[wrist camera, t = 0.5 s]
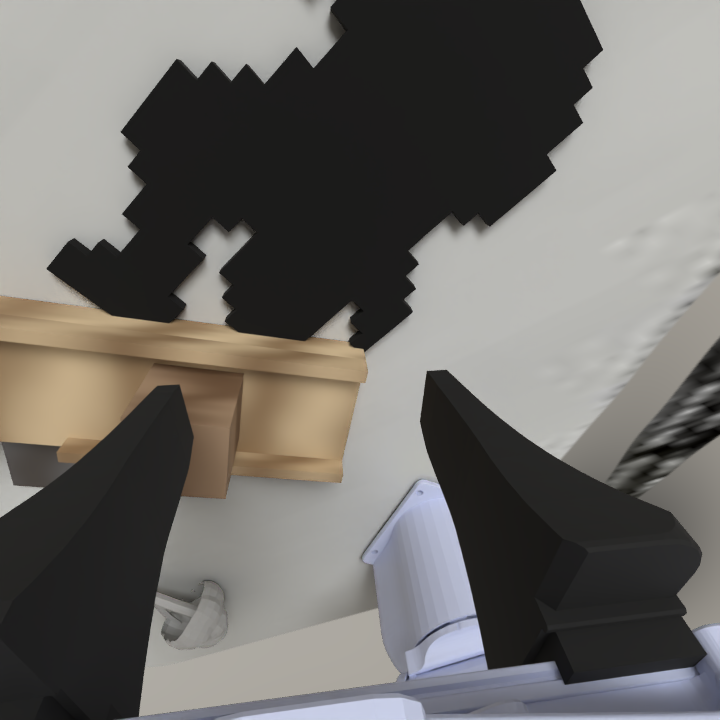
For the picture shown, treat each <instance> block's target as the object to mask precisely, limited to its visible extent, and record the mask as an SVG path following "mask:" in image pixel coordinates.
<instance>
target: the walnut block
mask: <svg viewBox="0 0 720 720" xmlns="http://www.w3.org/2000/svg"><path fill="white" fill-rule="evenodd" d="M243 380H244V373H237V372H228V371H219V370H211V369H202V368H193V367H184V366H176V365H167V364H158V363H154V364H153V366H152V367H151V369H150V370H149V372H148V374H147V375H146V377H145V379H144V380H143V382H142V383H141V385H140V387H139V388H138V390H137V392H136V393H135V395H134V396H133V398H132V400H131V401H130V403H129V405H128V406H127V408H126V409H125V411H124V413H123V414H122V416H121V418H120V421H122V420H123V419H125V418H126V417H127V416H128V415H129V414H130V412H131V411H132V410H133V409H134V408H135V407H136V406H137V405H138V404H139V403H140V402H141V401H142V400H143V399H144V398H145V397H146V396H147V395H148V394H149V393H150V392H151V391H152V390H153V389H154V388H155V387H156V386H160V385H178V384H180V388H181V391H182V395H183V399H184V402H185V406H186V410H187V413H188V417H189V421H190V424H191V428H192V431H193V435H194V439H193V446H192V453H191V459H190V465H189V470H188V474H187V477H186V480H185V484H184V487H183V491H182V494H181V496H189V497H205V498H220V499H225V498H226V494H227V490H228V485H229V481H230V476H231V472H232V467H233V463H234V459H235V454H236V450H237V445H238V441H239V433H240V420H241V406H242V393H243Z"/></svg>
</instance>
